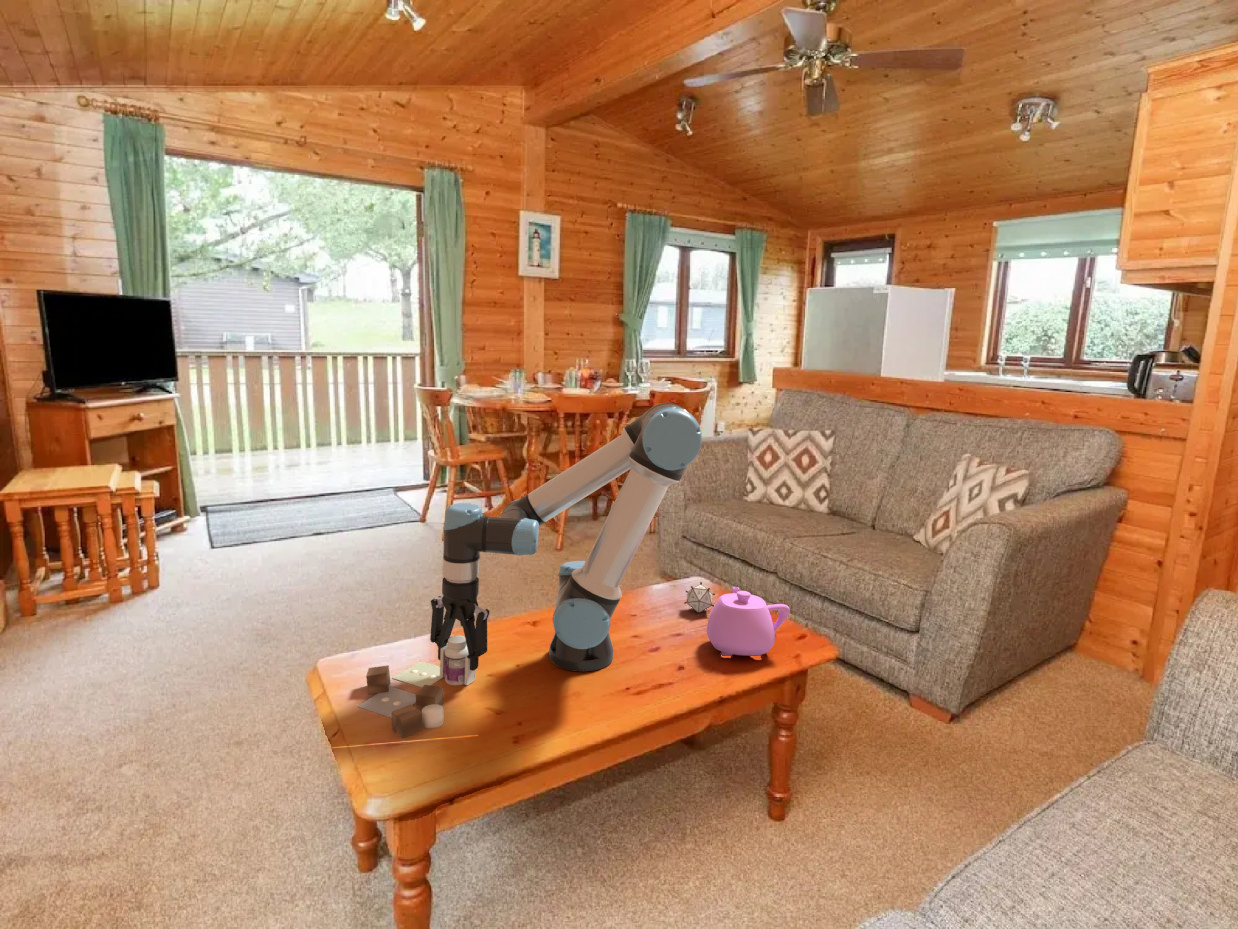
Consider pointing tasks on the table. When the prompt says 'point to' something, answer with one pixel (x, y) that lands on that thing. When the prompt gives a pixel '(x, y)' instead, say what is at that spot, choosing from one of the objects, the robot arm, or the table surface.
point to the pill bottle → (455, 660)
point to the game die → (699, 598)
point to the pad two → (389, 701)
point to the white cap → (432, 716)
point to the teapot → (743, 624)
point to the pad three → (420, 674)
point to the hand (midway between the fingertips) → (457, 678)
